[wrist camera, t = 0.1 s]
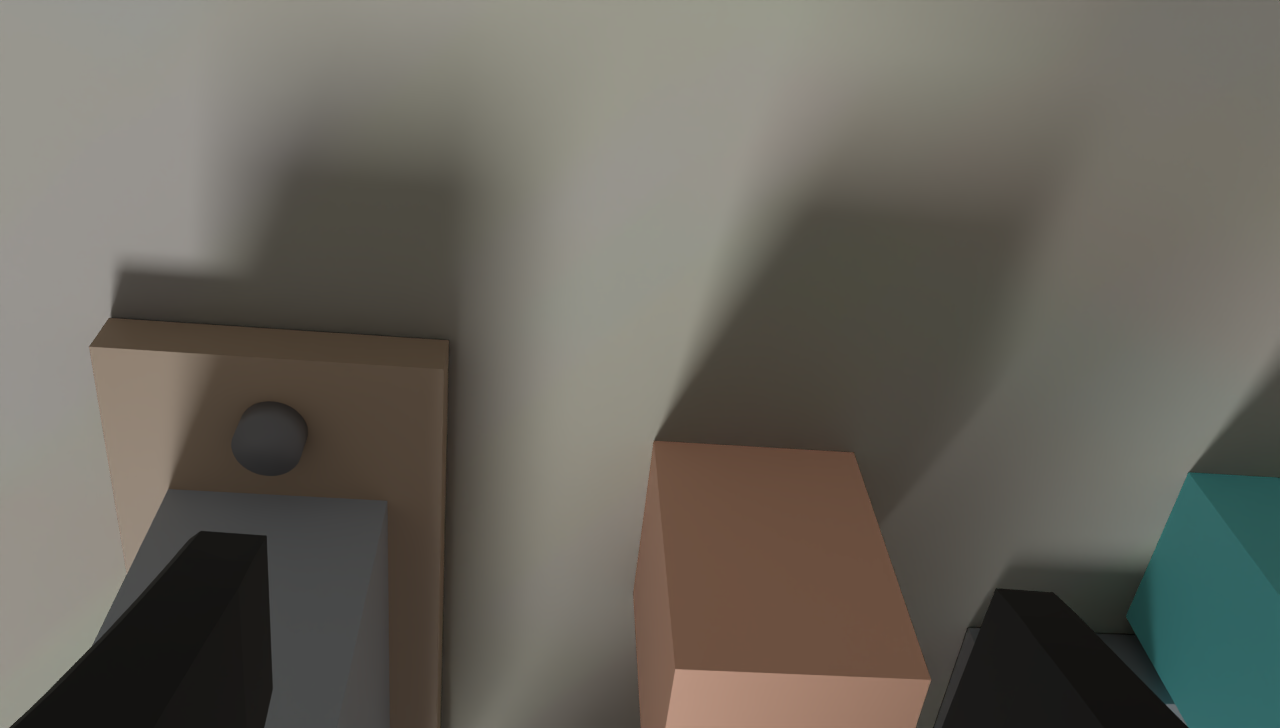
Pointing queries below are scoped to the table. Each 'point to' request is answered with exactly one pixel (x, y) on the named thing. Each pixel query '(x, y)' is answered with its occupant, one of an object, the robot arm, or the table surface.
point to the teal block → (1216, 602)
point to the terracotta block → (769, 595)
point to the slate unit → (294, 496)
